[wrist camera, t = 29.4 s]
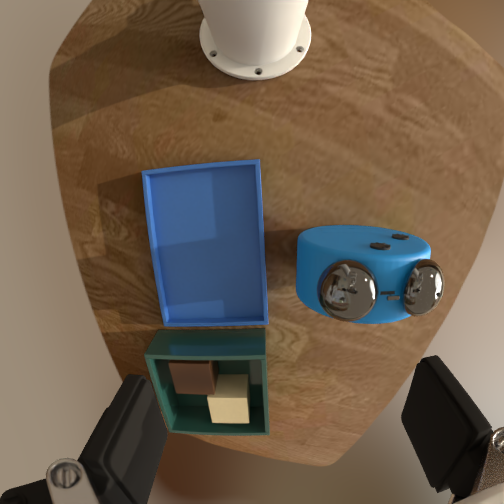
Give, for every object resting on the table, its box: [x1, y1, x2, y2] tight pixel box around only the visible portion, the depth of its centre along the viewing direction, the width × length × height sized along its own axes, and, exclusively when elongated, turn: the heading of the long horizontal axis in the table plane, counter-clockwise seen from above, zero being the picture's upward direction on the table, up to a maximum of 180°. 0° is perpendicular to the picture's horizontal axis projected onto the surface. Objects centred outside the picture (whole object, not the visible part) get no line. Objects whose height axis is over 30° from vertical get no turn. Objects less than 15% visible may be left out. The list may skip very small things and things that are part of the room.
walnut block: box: [168, 360, 219, 395], centre depth 36 cm, size 5×5×5 cm
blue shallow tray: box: [142, 159, 268, 326], centre depth 34 cm, size 19×13×2 cm
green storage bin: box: [144, 328, 270, 436], centre depth 37 cm, size 14×14×6 cm
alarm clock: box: [296, 225, 445, 324], centre depth 27 cm, size 13×6×15 cm, turn 91°
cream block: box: [207, 374, 250, 423], centre depth 37 cm, size 5×5×5 cm
